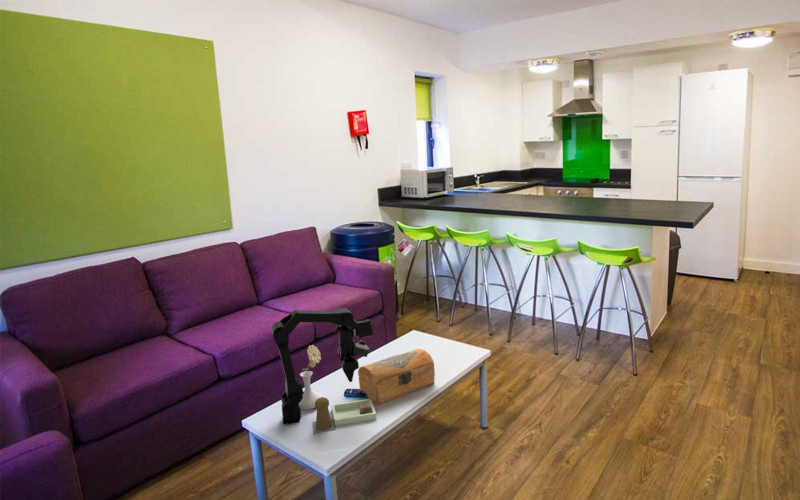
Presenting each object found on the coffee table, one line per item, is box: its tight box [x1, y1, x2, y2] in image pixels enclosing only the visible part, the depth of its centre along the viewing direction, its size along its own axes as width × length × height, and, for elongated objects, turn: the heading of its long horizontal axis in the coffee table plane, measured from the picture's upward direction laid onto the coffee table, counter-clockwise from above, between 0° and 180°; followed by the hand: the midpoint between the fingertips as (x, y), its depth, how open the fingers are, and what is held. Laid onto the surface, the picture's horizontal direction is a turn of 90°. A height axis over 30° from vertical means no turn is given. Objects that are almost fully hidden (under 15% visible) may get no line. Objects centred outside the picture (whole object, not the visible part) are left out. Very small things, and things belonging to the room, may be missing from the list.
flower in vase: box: [298, 344, 323, 410], centre depth 206 cm, size 13×11×25 cm
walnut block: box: [359, 402, 371, 415], centre depth 197 cm, size 4×4×4 cm
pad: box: [312, 418, 337, 435], centre depth 191 cm, size 8×8×1 cm
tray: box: [331, 398, 377, 427], centre depth 198 cm, size 16×12×3 cm
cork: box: [315, 396, 332, 430], centre depth 190 cm, size 6×6×11 cm
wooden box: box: [357, 348, 436, 406], centre depth 217 cm, size 30×16×14 cm, turn 123°
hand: (349, 376), depth 202 cm, fingers open, 9 cm apart
